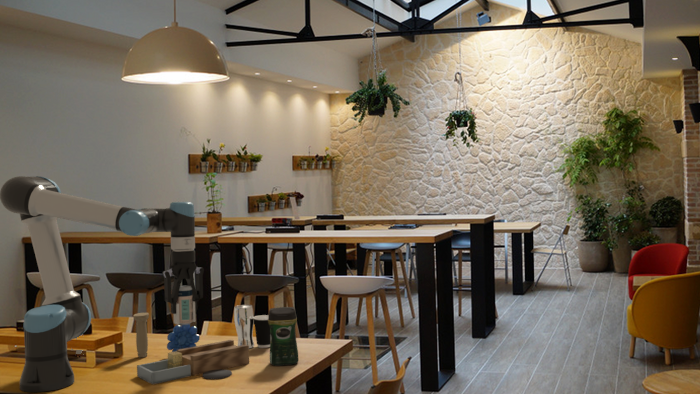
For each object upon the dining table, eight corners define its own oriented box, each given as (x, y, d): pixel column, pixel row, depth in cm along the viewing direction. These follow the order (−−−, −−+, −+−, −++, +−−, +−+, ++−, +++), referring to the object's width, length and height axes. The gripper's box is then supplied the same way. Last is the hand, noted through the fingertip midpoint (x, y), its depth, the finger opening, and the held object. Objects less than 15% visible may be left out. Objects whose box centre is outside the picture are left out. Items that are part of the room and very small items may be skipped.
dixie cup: (278, 346, 244) (278, 317, 244) (260, 350, 239) (260, 320, 239) (267, 342, 250) (267, 314, 250) (249, 346, 245) (249, 316, 245)
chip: (182, 372, 210) (173, 374, 208) (176, 370, 213) (167, 372, 211) (182, 363, 210) (173, 365, 208) (176, 360, 213) (167, 362, 211)
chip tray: (152, 384, 200) (152, 372, 200) (137, 376, 210) (136, 365, 210) (190, 376, 208) (190, 364, 208) (174, 368, 217) (174, 358, 217)
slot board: (193, 375, 209) (193, 356, 209) (177, 368, 218) (176, 349, 218) (249, 363, 222) (248, 345, 221) (231, 356, 231) (230, 339, 231)
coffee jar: (297, 359, 225) (296, 304, 225) (299, 365, 217) (297, 308, 217) (269, 361, 224) (267, 306, 224) (269, 367, 216) (267, 310, 216)
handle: (152, 354, 238) (150, 312, 237) (146, 359, 231) (144, 315, 231) (138, 354, 238) (137, 312, 237) (132, 359, 231) (131, 316, 231)
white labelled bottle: (186, 321, 217) (186, 284, 216) (195, 323, 214) (195, 286, 213) (174, 324, 213) (173, 286, 213) (183, 325, 210) (182, 287, 210)
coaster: (211, 381, 202) (210, 379, 202) (197, 375, 209) (197, 373, 209) (237, 375, 208) (237, 373, 208) (223, 369, 215) (223, 367, 215)
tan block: (173, 364, 209) (173, 355, 209) (167, 362, 212) (167, 352, 212) (182, 362, 211) (181, 353, 211) (176, 360, 214) (176, 351, 214)
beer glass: (234, 346, 246) (231, 306, 245) (252, 343, 249) (249, 303, 248) (239, 350, 239) (236, 309, 239) (257, 347, 242) (255, 306, 242)
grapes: (203, 353, 237) (202, 319, 237) (198, 358, 230) (197, 323, 230) (170, 354, 237) (169, 320, 237) (165, 358, 231) (164, 324, 230)
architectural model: (71, 359, 235) (70, 338, 234) (74, 355, 241) (73, 334, 241) (81, 358, 235) (81, 337, 235) (84, 354, 242) (83, 333, 242)
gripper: (161, 252, 205) (163, 328, 205) (213, 248, 216) (215, 320, 216) (151, 251, 210) (153, 324, 211) (203, 247, 222) (204, 316, 222)
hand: (184, 322), depth 214 cm, fingers closed on white labelled bottle, 5 cm apart
